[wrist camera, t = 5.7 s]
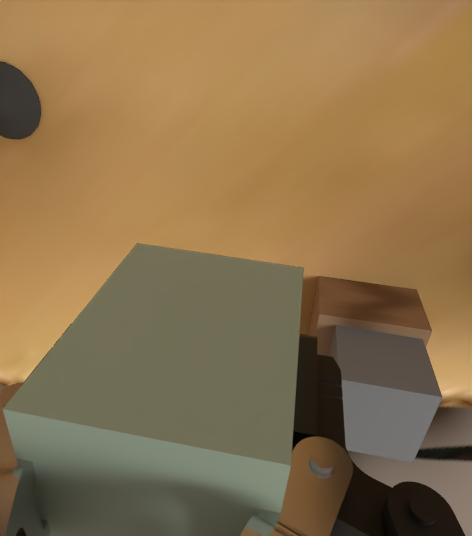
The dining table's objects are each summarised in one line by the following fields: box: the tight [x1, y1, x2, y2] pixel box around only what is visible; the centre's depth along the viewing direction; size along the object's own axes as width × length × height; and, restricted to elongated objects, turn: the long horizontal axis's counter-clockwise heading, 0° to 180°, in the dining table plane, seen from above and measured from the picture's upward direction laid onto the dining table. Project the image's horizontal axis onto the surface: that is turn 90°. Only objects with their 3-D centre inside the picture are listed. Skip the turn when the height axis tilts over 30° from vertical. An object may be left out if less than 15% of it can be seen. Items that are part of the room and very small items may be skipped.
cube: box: [328, 325, 442, 463], centre depth 27 cm, size 6×6×5 cm
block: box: [3, 243, 304, 536], centre depth 11 cm, size 5×5×6 cm
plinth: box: [308, 276, 432, 356], centre depth 32 cm, size 7×7×5 cm
